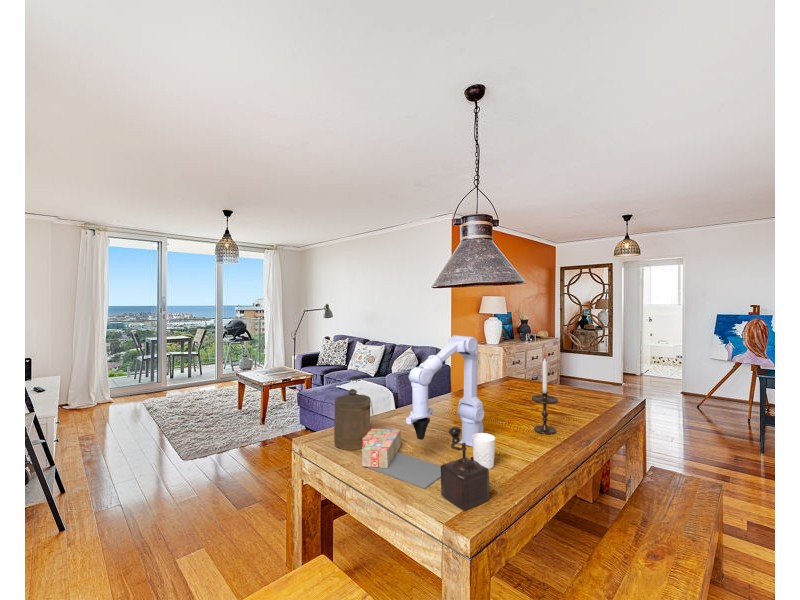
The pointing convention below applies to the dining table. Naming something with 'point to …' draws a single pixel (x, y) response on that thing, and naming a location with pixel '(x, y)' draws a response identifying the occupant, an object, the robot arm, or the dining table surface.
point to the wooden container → (351, 420)
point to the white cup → (484, 449)
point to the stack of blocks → (380, 447)
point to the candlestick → (544, 403)
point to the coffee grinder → (464, 478)
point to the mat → (412, 470)
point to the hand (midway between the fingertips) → (420, 438)
